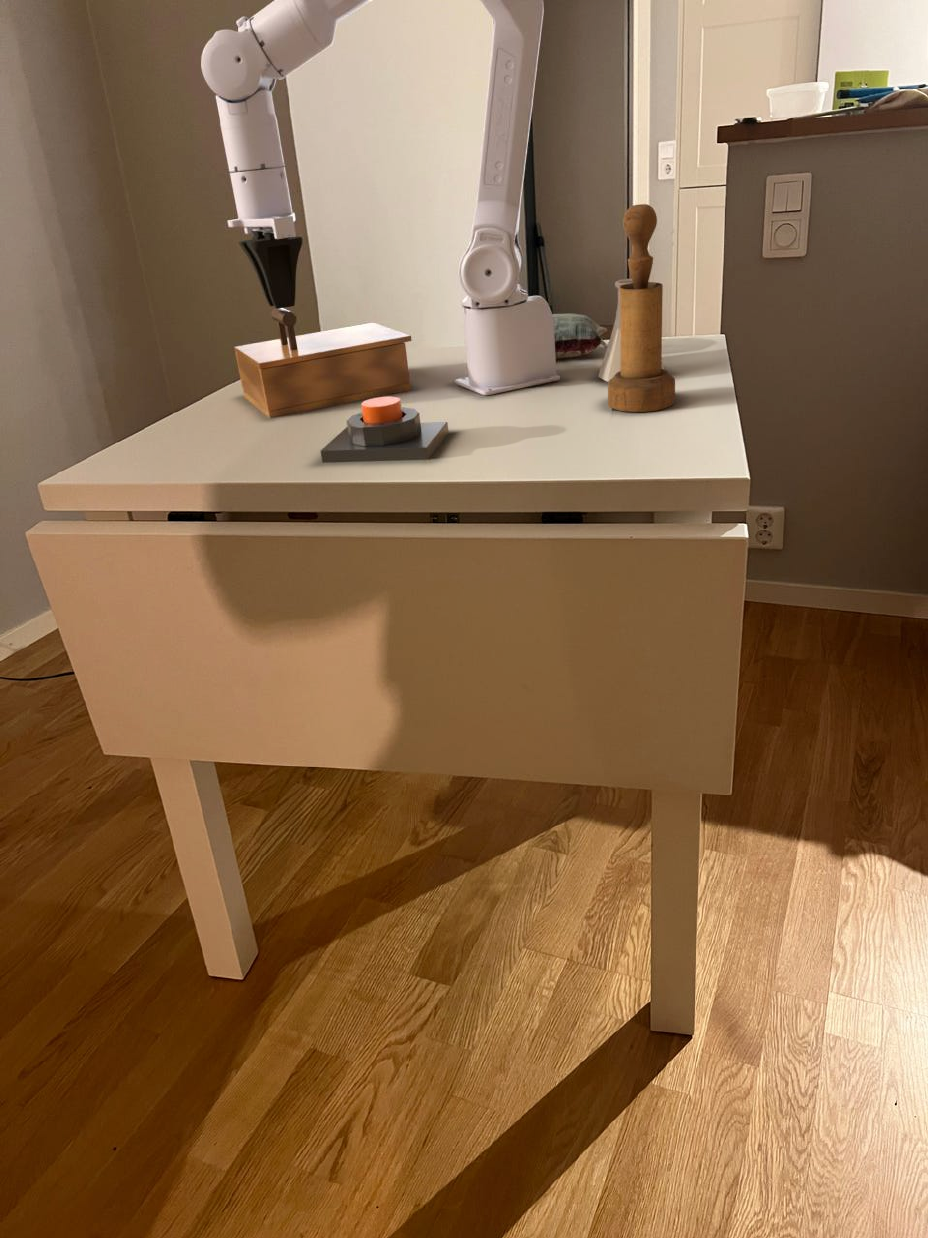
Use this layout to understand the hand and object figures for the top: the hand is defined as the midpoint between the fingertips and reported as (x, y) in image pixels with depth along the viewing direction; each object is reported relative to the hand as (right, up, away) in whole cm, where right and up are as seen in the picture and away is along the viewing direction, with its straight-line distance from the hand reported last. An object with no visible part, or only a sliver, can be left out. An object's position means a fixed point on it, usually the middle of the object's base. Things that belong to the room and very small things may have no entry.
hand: (281, 305), depth 102 cm
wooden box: (+4, -8, +6) cm, 11 cm away
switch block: (+13, -19, -16) cm, 28 cm away
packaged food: (+32, -2, +12) cm, 34 cm away
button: (+13, -16, -17) cm, 27 cm away
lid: (+4, -3, +4) cm, 6 cm away
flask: (+39, -8, -1) cm, 39 cm away
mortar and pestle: (+38, -14, -11) cm, 42 cm away
